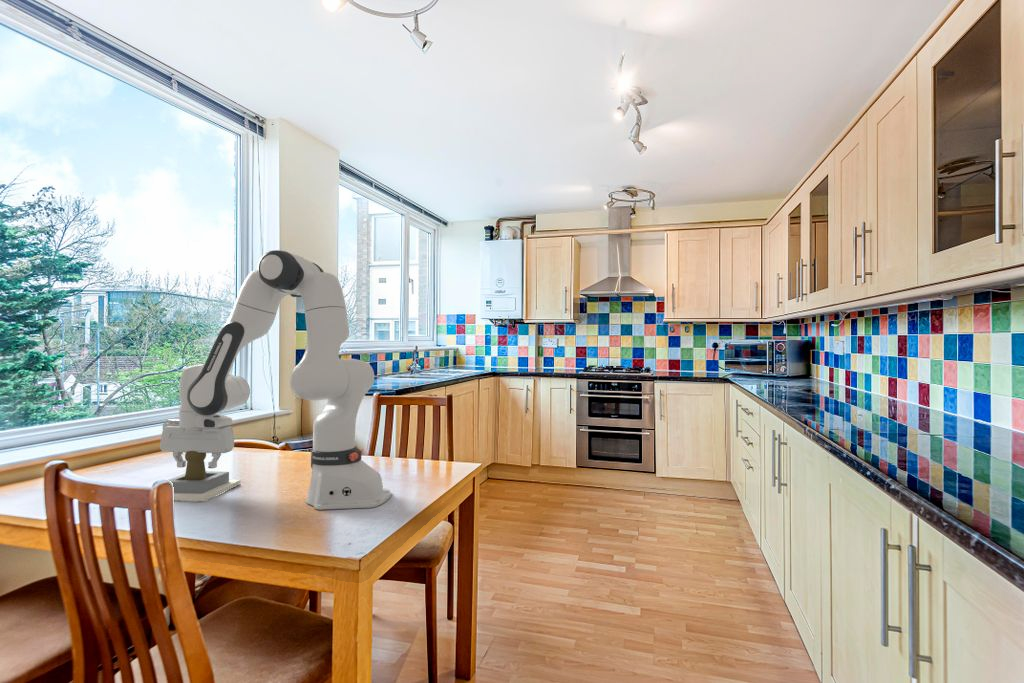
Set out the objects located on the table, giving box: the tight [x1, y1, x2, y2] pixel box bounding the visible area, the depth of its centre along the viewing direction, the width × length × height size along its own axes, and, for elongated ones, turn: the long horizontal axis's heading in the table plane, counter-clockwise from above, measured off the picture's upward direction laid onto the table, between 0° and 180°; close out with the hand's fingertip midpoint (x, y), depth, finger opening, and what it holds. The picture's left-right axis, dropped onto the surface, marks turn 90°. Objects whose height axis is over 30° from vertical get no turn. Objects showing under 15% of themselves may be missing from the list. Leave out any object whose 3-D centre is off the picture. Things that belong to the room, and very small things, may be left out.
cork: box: [184, 451, 207, 481], centre depth 141 cm, size 6×6×11 cm
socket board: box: [168, 470, 241, 502], centre depth 141 cm, size 16×16×4 cm
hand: (196, 467), depth 141 cm, fingers open, 8 cm apart
